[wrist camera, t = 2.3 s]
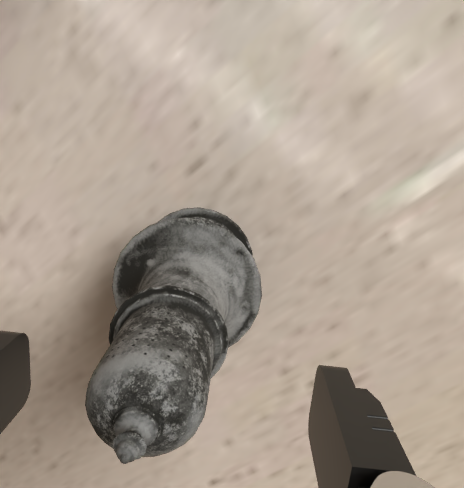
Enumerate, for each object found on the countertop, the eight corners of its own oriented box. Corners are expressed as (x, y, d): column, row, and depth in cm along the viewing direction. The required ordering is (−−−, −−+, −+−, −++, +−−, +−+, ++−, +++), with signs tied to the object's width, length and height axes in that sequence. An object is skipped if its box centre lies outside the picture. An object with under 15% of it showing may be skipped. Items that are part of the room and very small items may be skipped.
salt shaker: (270, 306, 20) (300, 554, 8) (154, 328, 21) (35, 588, 9) (245, 188, 18) (239, 296, 7) (120, 215, 19) (-77, 356, 7)
